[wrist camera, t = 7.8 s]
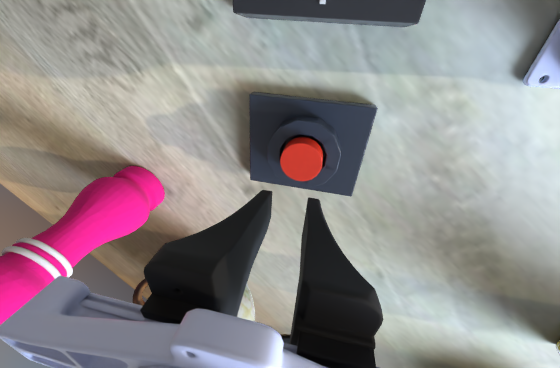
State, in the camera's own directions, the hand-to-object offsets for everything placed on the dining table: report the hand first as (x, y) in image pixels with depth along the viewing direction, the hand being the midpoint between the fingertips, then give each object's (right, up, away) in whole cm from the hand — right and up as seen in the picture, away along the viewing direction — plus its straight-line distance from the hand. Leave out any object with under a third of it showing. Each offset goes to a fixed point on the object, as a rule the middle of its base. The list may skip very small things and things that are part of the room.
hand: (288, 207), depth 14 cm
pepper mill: (-19, +1, +16) cm, 25 cm away
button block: (+2, +5, +9) cm, 10 cm away
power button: (+1, +4, +6) cm, 8 cm away
